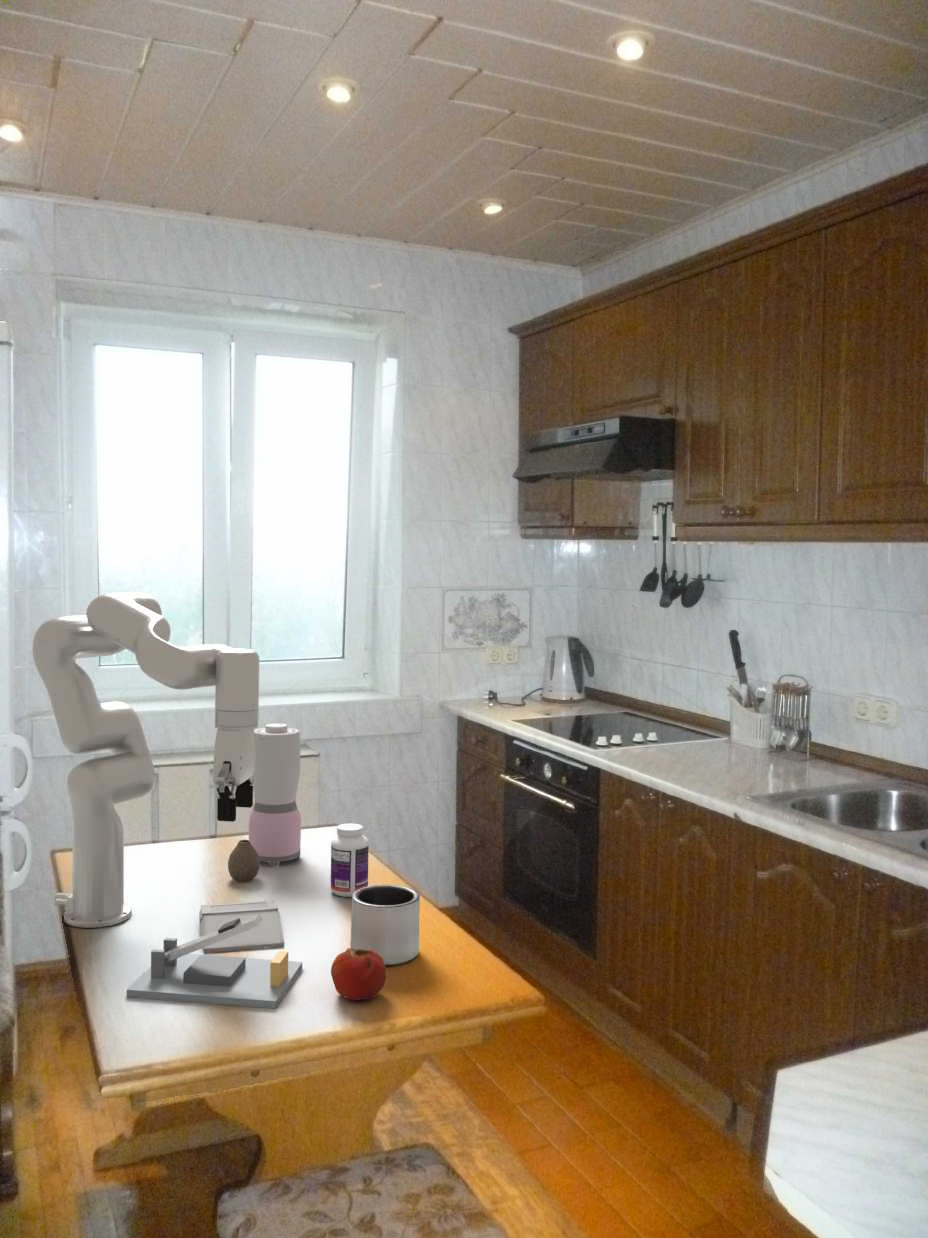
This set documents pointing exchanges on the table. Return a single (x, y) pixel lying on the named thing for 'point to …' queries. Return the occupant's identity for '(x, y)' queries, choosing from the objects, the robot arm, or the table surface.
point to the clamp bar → (214, 937)
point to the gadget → (221, 914)
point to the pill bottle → (349, 860)
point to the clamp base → (216, 994)
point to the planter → (386, 922)
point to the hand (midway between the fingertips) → (235, 813)
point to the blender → (276, 795)
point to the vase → (243, 862)
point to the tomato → (358, 974)
